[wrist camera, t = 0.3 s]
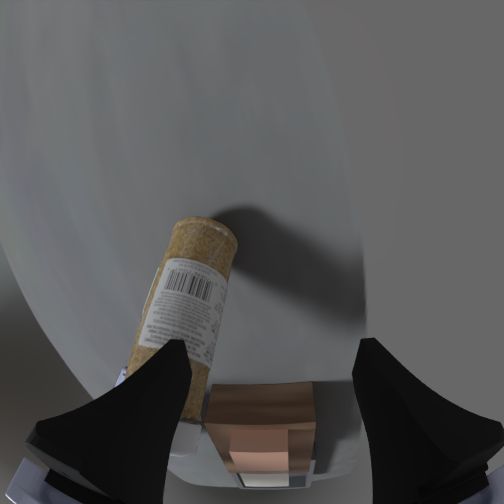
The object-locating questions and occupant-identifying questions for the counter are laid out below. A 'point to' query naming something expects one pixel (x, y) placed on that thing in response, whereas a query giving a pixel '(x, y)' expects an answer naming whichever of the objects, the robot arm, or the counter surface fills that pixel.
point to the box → (294, 478)
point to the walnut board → (264, 417)
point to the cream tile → (265, 478)
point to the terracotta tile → (259, 450)
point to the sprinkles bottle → (188, 311)
